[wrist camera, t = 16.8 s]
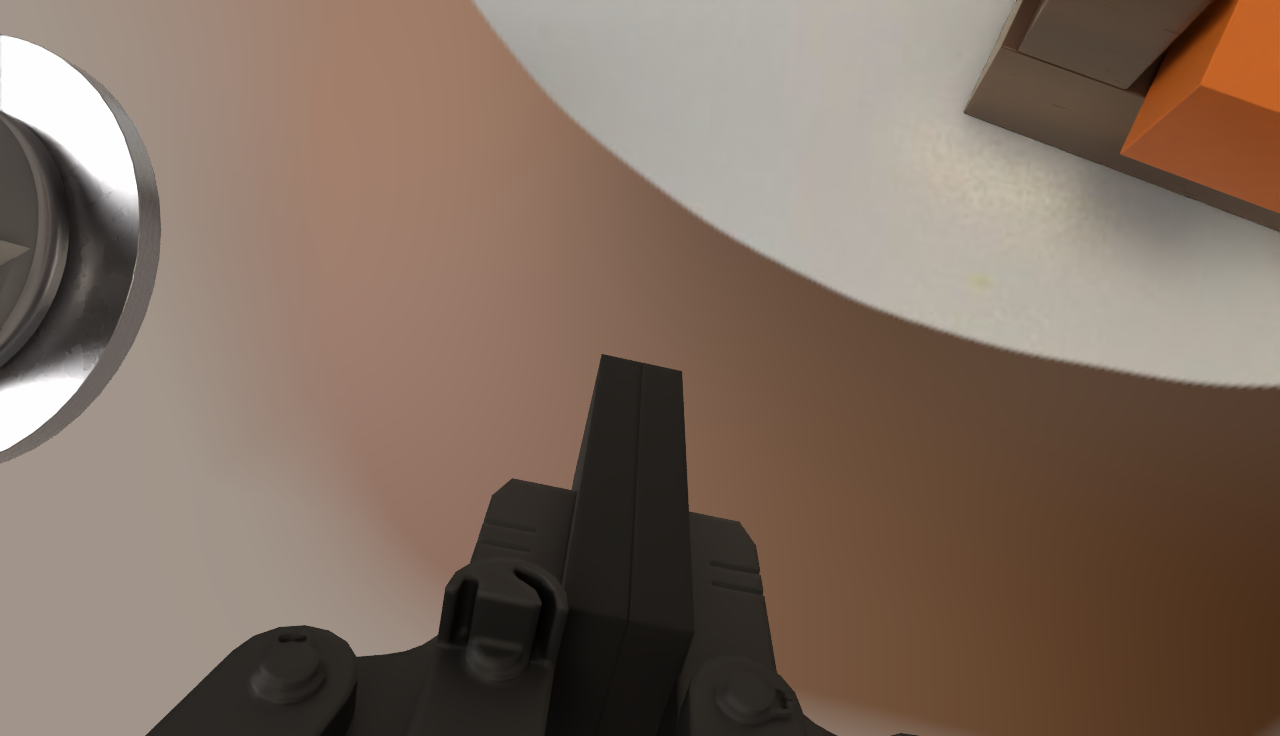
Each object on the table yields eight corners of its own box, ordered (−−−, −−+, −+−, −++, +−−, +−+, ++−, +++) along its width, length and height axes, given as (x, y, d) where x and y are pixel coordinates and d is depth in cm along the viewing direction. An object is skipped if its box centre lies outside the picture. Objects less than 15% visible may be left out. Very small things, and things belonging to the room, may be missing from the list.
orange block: (1279, 213, 24) (1402, 155, 20) (1118, 154, 25) (1199, 84, 20) (1346, 65, 24) (1485, -29, 20) (1184, 11, 25) (1280, -91, 21)
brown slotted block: (1340, 254, 29) (1706, 125, 18) (962, 112, 32) (1072, -79, 20) (1423, 70, 29) (1838, -174, 18) (1042, -56, 32) (1194, -338, 20)
